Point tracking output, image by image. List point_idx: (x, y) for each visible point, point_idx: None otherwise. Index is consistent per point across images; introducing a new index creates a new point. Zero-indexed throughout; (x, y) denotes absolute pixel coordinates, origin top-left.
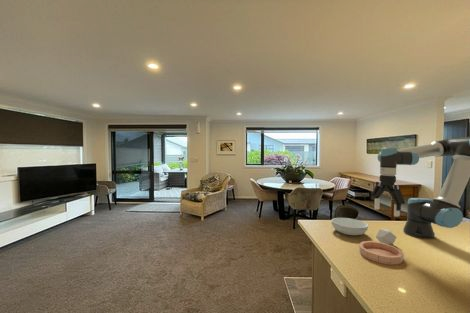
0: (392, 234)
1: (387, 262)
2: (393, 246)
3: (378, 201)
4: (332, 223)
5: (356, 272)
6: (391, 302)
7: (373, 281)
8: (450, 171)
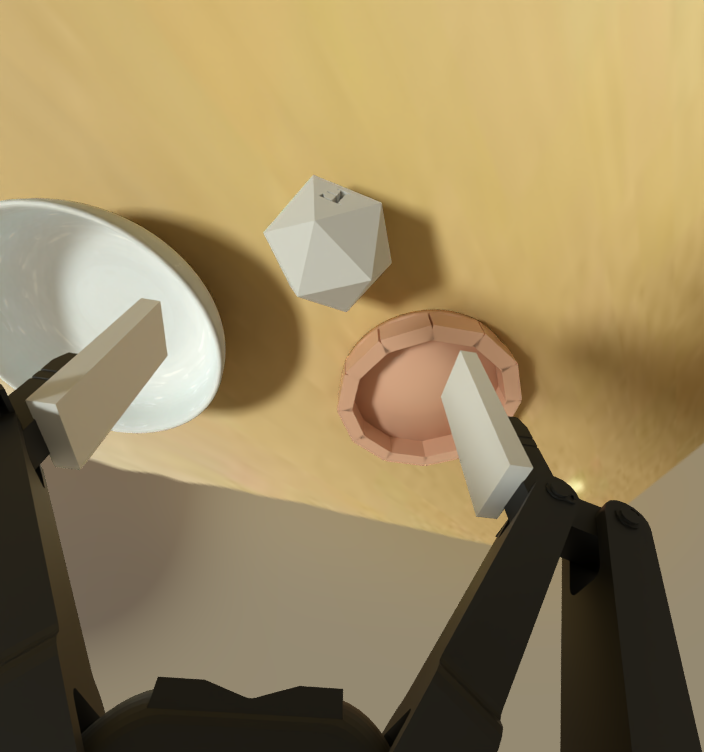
0: (376, 253)
1: None
2: (442, 328)
3: (98, 387)
4: None
5: (462, 514)
6: None
7: None
8: None
